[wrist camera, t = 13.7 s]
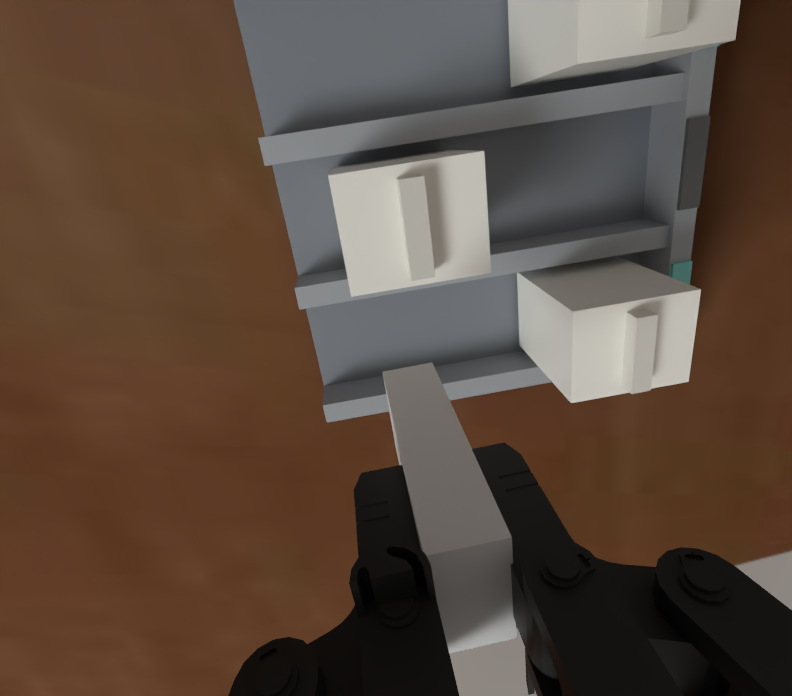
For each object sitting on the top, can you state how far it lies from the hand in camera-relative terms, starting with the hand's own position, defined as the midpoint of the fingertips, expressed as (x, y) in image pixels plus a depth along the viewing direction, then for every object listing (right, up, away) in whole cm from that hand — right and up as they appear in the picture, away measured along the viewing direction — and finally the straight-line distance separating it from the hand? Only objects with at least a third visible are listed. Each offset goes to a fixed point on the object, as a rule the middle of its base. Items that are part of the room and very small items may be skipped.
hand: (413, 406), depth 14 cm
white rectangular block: (+6, +15, +5) cm, 17 cm away
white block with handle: (+8, +4, +10) cm, 13 cm away
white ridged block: (-1, +8, +7) cm, 11 cm away
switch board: (+3, +9, +8) cm, 13 cm away
